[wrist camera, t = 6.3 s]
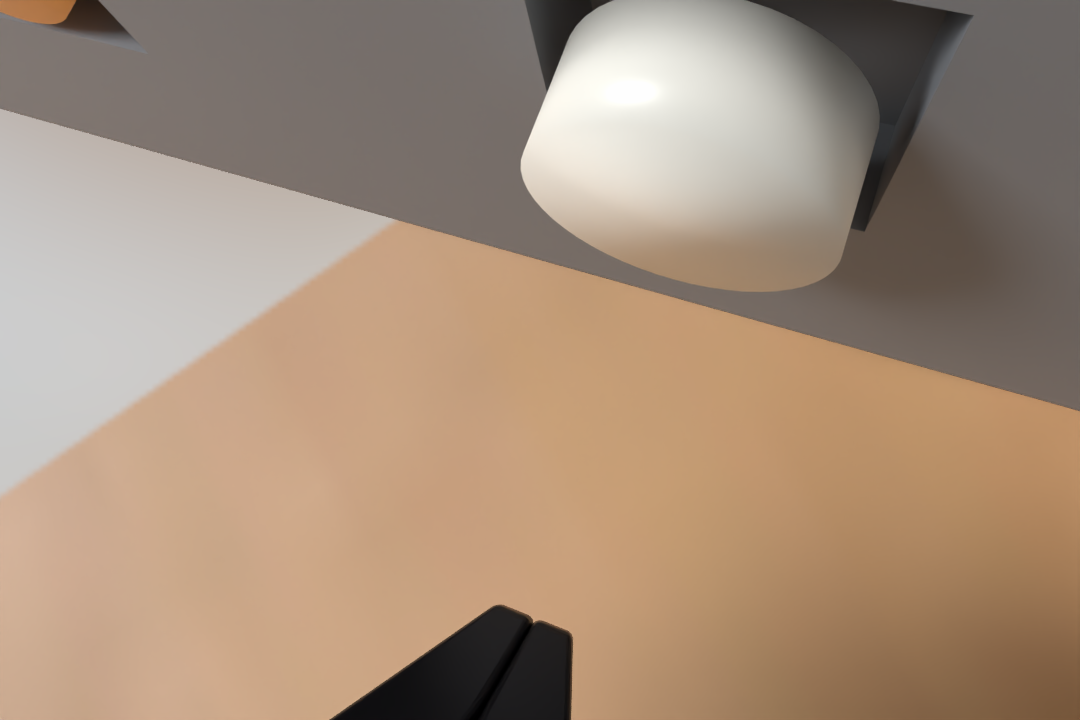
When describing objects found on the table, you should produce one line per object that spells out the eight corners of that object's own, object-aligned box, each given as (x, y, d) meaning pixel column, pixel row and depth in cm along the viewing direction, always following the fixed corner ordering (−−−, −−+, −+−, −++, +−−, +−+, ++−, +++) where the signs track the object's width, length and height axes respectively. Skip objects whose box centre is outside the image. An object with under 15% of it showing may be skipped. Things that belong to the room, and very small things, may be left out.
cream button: (812, 317, 13) (880, 177, 9) (544, 244, 14) (490, 87, 10) (844, 214, 13) (922, 32, 9) (580, 149, 14) (543, -40, 10)
